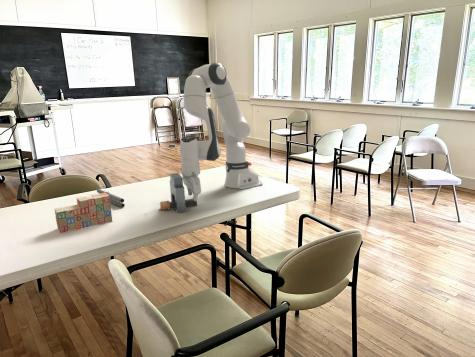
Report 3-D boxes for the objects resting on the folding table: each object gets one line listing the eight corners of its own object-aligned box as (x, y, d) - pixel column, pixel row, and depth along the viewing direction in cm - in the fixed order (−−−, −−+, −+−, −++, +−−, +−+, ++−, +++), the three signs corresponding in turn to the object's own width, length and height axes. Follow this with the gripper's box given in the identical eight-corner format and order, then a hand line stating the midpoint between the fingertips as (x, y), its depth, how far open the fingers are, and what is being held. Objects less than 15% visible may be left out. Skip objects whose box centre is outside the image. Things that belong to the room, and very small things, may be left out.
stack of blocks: (59, 233, 145) (55, 205, 142) (57, 229, 150) (52, 201, 147) (112, 221, 157) (109, 195, 154) (108, 217, 162) (105, 191, 159)
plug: (195, 203, 178) (195, 196, 177) (197, 206, 174) (197, 198, 173) (160, 208, 172) (159, 200, 171) (161, 211, 168) (161, 203, 167)
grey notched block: (179, 202, 180) (177, 171, 176) (185, 211, 167) (183, 179, 162) (171, 203, 179) (169, 172, 175) (177, 213, 165) (175, 180, 161)
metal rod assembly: (125, 207, 175) (124, 197, 174) (120, 208, 173) (119, 199, 172) (101, 196, 193) (100, 187, 191) (96, 197, 191) (95, 189, 189)
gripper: (203, 174, 162) (205, 203, 166) (191, 165, 180) (193, 191, 184) (190, 176, 160) (192, 205, 163) (179, 166, 178) (181, 193, 182)
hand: (192, 197), depth 174 cm, fingers open, 8 cm apart
